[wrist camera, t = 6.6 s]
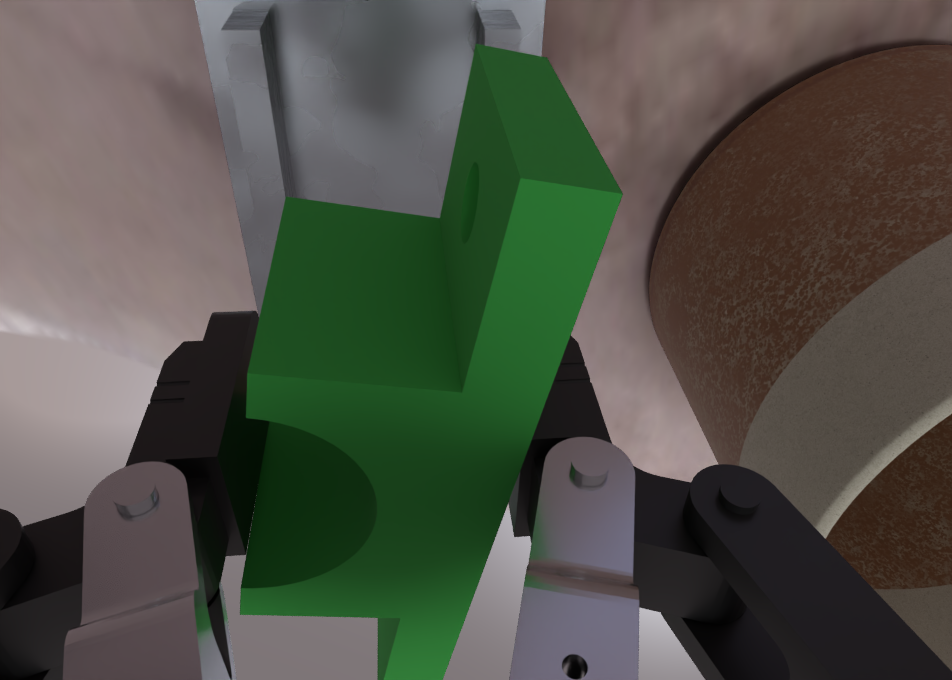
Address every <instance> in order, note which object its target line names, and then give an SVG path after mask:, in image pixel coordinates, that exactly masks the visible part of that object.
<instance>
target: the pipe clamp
mask: <svg viewBox="0 0 952 680" xmlns="http://www.w3.org/2000/svg"><path fill="white" fill-rule="evenodd" d="M622 195H623V193H622V192H621V190H620V188H619V186H618V184H617V183H616V181H615V179H614V177H613V175H612V174H611V172H610V170H609V168H608V166H607V165H606V163H605V161H604V159H603V157H602V156H601V154H600V152H599V150H598V148H597V147H596V145H595V143H594V141H593V139H592V138H591V136H590V134H589V132H588V130H587V129H586V127H585V125H584V123H583V121H582V120H581V118H580V116H579V114H578V113H577V111H576V109H575V107H574V105H573V104H572V102H571V100H570V98H569V96H568V95H567V93H566V91H565V89H564V87H563V86H562V84H561V82H560V80H559V78H558V77H557V75H556V73H555V71H554V69H553V68H552V66H551V64H550V62H549V60H548V59H547V57H541V56H536V55H531V54H526V53H521V52H516V51H511V50H506V49H500V48H495V47H490V46H485V45H480V44H476V45H475V50H474V55H473V60H472V65H471V69H470V74H469V79H468V84H467V89H466V94H465V98H464V103H463V108H462V113H461V118H460V123H459V127H458V132H457V137H456V142H455V147H454V152H453V156H452V161H451V166H450V171H449V176H448V181H447V185H446V190H445V195H444V200H443V205H442V209H441V214H440V218H435V217H428V216H421V215H414V214H407V213H400V212H393V211H386V210H378V209H371V208H364V207H357V206H350V205H343V204H336V203H329V202H322V201H315V200H308V199H300V198H293V197H286V198H285V203H284V207H283V212H282V216H281V221H280V226H279V230H278V235H277V239H276V244H275V249H274V253H273V258H272V262H271V267H270V272H269V276H268V281H267V285H266V290H265V295H264V299H263V304H262V308H261V313H260V317H259V322H258V327H257V331H256V336H255V340H254V345H253V350H252V354H251V359H250V363H249V368H248V373H247V401H246V418H250V419H259V420H266V421H270V422H269V427H268V433H267V438H266V444H265V450H264V455H263V461H262V467H261V472H260V478H259V484H258V490H257V496H256V502H255V507H254V513H253V519H252V525H251V531H250V537H249V543H248V549H247V555H246V561H245V567H244V572H243V578H242V584H241V600H240V615H280V616H326V617H370V618H378V680H443V677H444V674H445V672H446V669H447V666H448V664H449V661H450V658H451V655H452V653H453V650H454V647H455V645H456V642H457V639H458V637H459V634H460V631H461V629H462V626H463V623H464V621H465V618H466V615H467V612H468V610H469V607H470V604H471V601H472V599H473V596H474V594H475V591H476V588H477V586H478V583H479V580H480V578H481V574H482V572H483V569H484V567H485V564H486V561H487V559H488V556H489V553H490V550H491V548H492V545H493V542H494V540H495V537H496V534H497V531H498V529H499V526H500V524H501V521H502V518H503V515H504V513H505V510H506V507H507V505H508V502H509V499H510V497H511V494H512V491H513V489H514V486H515V483H516V481H517V478H518V475H519V472H520V470H521V467H522V464H523V462H524V459H525V456H526V454H527V451H528V448H529V446H530V443H531V440H532V437H533V435H534V432H535V429H536V427H537V424H538V421H539V419H540V416H541V413H542V411H543V408H544V405H545V402H546V400H547V397H548V394H549V392H550V389H551V386H552V384H553V381H554V378H555V376H556V373H557V370H558V367H559V365H560V362H561V359H562V357H563V354H564V351H565V349H566V346H567V343H568V340H569V338H570V335H571V332H572V330H573V327H574V324H575V322H576V319H577V316H578V314H579V311H580V308H581V305H582V303H583V300H584V297H585V295H586V292H587V289H588V287H589V284H590V281H591V279H592V276H593V273H594V270H595V268H596V265H597V262H598V260H599V257H600V254H601V252H602V249H603V246H604V244H605V241H606V238H607V235H608V233H609V230H610V227H611V225H612V222H613V219H614V217H615V214H616V211H617V209H618V206H619V203H620V200H621V198H622Z"/></svg>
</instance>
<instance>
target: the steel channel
mask: <svg viewBox="0 0 952 680" xmlns="http://www.w3.org/2000/svg"><path fill="white" fill-rule="evenodd" d="M194 1H195V5H196V10H197V15H198V20H199V25H200V30H201V35H202V40H203V45H204V50H205V54H206V59H207V64H208V69H209V74H210V79H211V84H212V89H213V94H214V99H215V104H216V108H217V113H218V118H219V123H220V128H221V133H222V138H223V143H224V148H225V153H226V158H227V162H228V167H229V172H230V177H231V182H232V187H233V192H234V197H235V202H236V207H237V212H238V216H239V221H240V226H241V231H242V236H243V241H244V246H245V251H246V256H247V261H248V265H249V270H250V275H251V280H252V285H253V290H254V295H255V300H256V305H257V310H258V315H259V317H260V313H261V308H262V304H263V299H264V295H265V290H266V285H267V281H268V276H269V272H270V267H271V262H272V258H273V253H274V249H275V244H276V239H277V235H278V230H279V226H280V221H281V216H282V212H283V207H284V203H285V198H286V197H293V198H300V199H308V200H315V201H322V202H329V203H336V204H343V205H350V206H357V207H364V208H371V209H378V210H386V211H393V212H400V213H407V214H414V215H421V216H428V217H435V218H440V214H441V209H442V205H443V200H444V195H445V190H446V185H447V181H448V176H449V171H450V166H451V161H452V156H453V152H454V147H455V142H456V137H457V132H458V127H459V123H460V118H461V113H462V108H463V103H464V98H465V94H466V89H467V84H468V79H469V74H470V69H471V65H472V60H473V55H474V50H475V45H476V44H480V45H485V46H490V47H495V48H500V49H506V50H511V51H516V52H521V53H526V54H531V55H536V56H541V54H542V41H543V28H544V14H545V1H546V0H194Z"/></svg>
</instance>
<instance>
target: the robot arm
mask: <svg viewBox="0 0 952 680" xmlns="http://www.w3.org/2000/svg"><path fill="white" fill-rule="evenodd" d="M258 322H259V316H258V313H257V312H256V311H238V312H214V313H212V315H211V317H210V320H209V323H208V326H207V330H206V333H205V336H204V339H203V341H186V342H183V343H182V344H181V345H180V346H179V347H178V348H177V349H176V350H175V351H174V352H173V353H172V354H171V355H170V356H169V357H168V358H167V359H166V360H165V361H164V364H163V367H162V369H161V372H160V375H159V378H158V380H157V386H156V387H155V388H154V391H153V393H152V397H151V399H150V404H148V407H147V410H146V412H145V415H144V418H143V420H142V423H141V426H140V428H139V431H138V434H137V436H136V439H135V442H134V445H133V447H132V450H131V453H130V455H129V458H128V461H127V463H126V466H125V467H124V468H122V469H119V470H117V471H116V472H114V473H112V474H110V475H109V476H107V477H106V478H105V479H104V480H102V481H101V482H100V483H99V484H98V485H97V486H96V487H95V488H94V489H93V491H92V492H91V493H90V495H89V497H88V498H87V501H86V504H85V506H83V507H81V508H79V509H77V510H74V511H71V512H68V513H65V514H62V515H59V516H56V517H52V518H49V519H46V520H42V521H39V522H36V523H33V524H29V525H26V526H23V527H22V525H21V524H20V522H19V520H18V518H17V517H16V516H15V515H14V514H12V513H10V512H8V511H6V510H3V509H0V680H237V679H236V673H235V666H234V659H233V652H232V645H231V639H230V632H229V625H228V618H227V612H226V605H225V598H224V592H223V588H222V584H221V576H222V572H223V567H224V562H225V557H226V556H234V555H246V552H247V546H248V540H249V535H250V529H251V523H252V518H253V512H254V506H255V501H256V495H257V489H258V484H259V478H260V472H261V467H262V461H263V455H264V450H265V444H266V438H267V433H268V427H269V422H270V421H266V420H259V419H250V418H246V401H247V373H248V368H249V363H250V359H251V354H252V350H253V345H254V340H255V336H256V331H257V327H258ZM584 363H585V362H584V359H583V356H582V353H581V350H580V347H579V344H578V342H577V341H576V340H575V339H574V338H573V337H572V336H571V335H570V338H569V340H568V343H567V346H566V349H565V351H564V354H563V357H562V359H561V362H560V365H559V367H558V370H557V373H556V376H555V378H554V381H553V384H552V386H551V389H550V392H549V394H548V397H547V400H546V402H545V405H544V408H543V411H542V413H541V416H540V419H539V421H538V424H537V427H536V429H535V432H534V435H533V437H532V440H531V443H530V446H529V448H528V451H527V454H526V456H525V459H524V462H523V464H522V467H521V470H520V472H519V475H518V478H517V481H516V483H515V486H514V489H513V491H512V494H511V497H510V499H509V508H510V514H511V520H512V525H513V532H514V537H521V536H530V537H531V543H532V545H531V552H530V558H529V564H528V566H527V570H526V576H525V582H524V589H523V595H522V601H521V607H520V614H519V621H518V626H517V633H516V639H515V646H514V652H513V658H512V665H511V671H510V677H509V680H638V656H639V655H638V654H639V652H638V651H639V649H638V648H639V607H641V608H645V609H649V610H653V611H658V612H661V614H662V616H663V617H664V619H665V621H666V622H667V624H668V625H669V626H670V628H671V630H672V631H673V632H674V634H675V635H676V637H677V638H678V640H679V641H680V643H681V644H682V646H683V647H684V649H685V650H686V652H687V653H688V654H689V656H690V657H691V659H692V661H693V662H694V663H695V665H696V666H697V668H698V669H699V671H700V672H701V674H702V675H703V677H704V678H705V679H706V680H952V671H951V670H950V669H949V668H948V667H947V666H946V665H945V664H944V662H943V661H942V660H941V659H940V658H939V657H938V656H937V655H936V654H935V653H934V652H933V651H932V650H931V649H930V648H929V647H928V646H927V645H926V644H925V643H924V642H923V640H922V639H921V638H920V637H919V636H918V635H917V634H916V633H915V632H914V631H913V630H912V629H911V628H910V627H909V626H908V625H907V624H906V623H905V622H904V621H903V620H902V618H901V617H900V616H899V615H898V614H897V613H896V612H895V611H894V610H893V609H892V608H891V607H890V606H889V605H888V604H887V603H886V602H885V601H884V600H883V599H882V597H881V596H880V595H879V594H878V593H877V592H876V591H875V590H874V589H873V588H872V587H871V586H870V585H869V584H868V583H867V582H866V581H865V580H864V579H863V578H862V577H861V575H860V574H859V573H858V572H857V571H856V570H855V569H854V568H853V567H852V566H851V565H850V564H849V563H848V562H847V561H846V560H845V559H844V558H843V557H842V556H841V555H840V553H839V552H838V551H837V550H836V549H835V548H834V547H833V546H832V545H831V544H830V543H829V542H828V541H827V540H826V539H825V538H824V537H823V536H822V535H821V534H820V533H819V531H818V530H817V529H816V528H815V527H814V526H813V525H812V524H811V523H810V522H809V521H808V520H807V519H806V518H805V517H804V516H803V515H802V514H801V513H800V512H799V511H798V509H797V508H796V507H795V506H794V505H793V504H792V503H791V502H790V501H789V500H788V499H787V498H786V497H785V496H784V495H783V494H782V493H781V492H780V491H779V490H778V489H777V487H776V486H775V485H773V484H772V483H771V482H770V481H769V480H768V479H766V478H765V477H764V476H762V475H760V474H758V473H757V472H755V471H752V470H750V469H748V468H744V467H741V466H736V465H729V464H720V465H713V466H709V467H707V468H705V469H703V470H701V471H700V472H698V473H697V474H696V476H695V477H694V478H693V480H692V482H691V483H690V482H685V481H680V480H675V479H670V478H665V477H660V476H656V475H653V474H650V473H647V472H644V471H642V470H640V469H638V468H636V467H634V466H633V464H632V463H631V461H630V459H629V458H628V457H627V455H626V454H625V453H624V452H623V451H622V450H621V449H619V448H618V447H616V446H615V445H613V444H612V442H611V440H610V437H609V434H608V431H607V428H606V425H605V422H604V419H603V416H602V413H601V410H600V407H599V404H598V401H597V398H596V395H595V392H594V389H593V386H592V383H590V377H589V374H588V371H587V368H586V366H585V364H584Z"/></svg>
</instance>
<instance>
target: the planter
mask: <svg viewBox="0 0 952 680" xmlns="http://www.w3.org/2000/svg"><path fill="white" fill-rule="evenodd" d="M649 302H650V311H651V316H652V321H653V325H654V328H655V331H656V334H657V336H658V339H659V341H660V343H661V345H662V347H663V349H664V352H665V354H666V356H667V358H668V360H669V362H670V364H671V366H672V368H673V370H674V372H675V374H676V376H677V379H678V381H679V383H680V385H681V387H682V389H683V391H684V393H685V395H686V397H687V399H688V401H689V403H690V406H691V408H692V410H693V412H694V414H695V416H696V418H697V420H698V422H699V424H700V426H701V428H702V430H703V433H704V435H705V437H706V439H707V441H708V443H709V445H710V447H711V449H712V451H713V453H714V455H715V457H716V460H717V462H718V464H719V465H720V464H729V465H736V466H741V467H744V468H748V469H750V470H752V471H755V472H757V473H758V474H760V475H762V476H764V477H765V478H766V479H768V480H769V481H770V482H771V483H772V484H773V485H775V486H776V487H777V489H778V490H779V491H780V492H781V493H782V494H783V495H784V496H785V497H786V498H787V499H788V500H789V501H790V502H791V503H792V504H793V505H794V506H795V507H796V508H797V509H798V511H799V512H800V513H801V514H802V515H803V516H804V517H805V518H806V519H807V520H808V521H809V522H810V523H811V524H812V525H813V526H814V527H815V528H816V529H817V530H818V531H819V533H820V534H821V535H822V536H823V537H824V538H825V539H826V540H827V541H828V542H829V543H830V544H831V545H832V546H833V547H834V548H835V549H836V550H837V551H838V552H839V553H840V555H841V556H842V557H843V558H844V559H845V560H846V561H847V562H848V563H849V564H850V565H851V566H852V567H853V568H854V569H855V570H856V571H857V572H858V573H859V574H860V575H861V577H862V578H863V579H864V580H865V581H866V582H867V583H868V584H869V585H870V586H871V587H872V588H873V589H874V590H875V591H876V592H877V593H878V594H879V595H880V596H881V597H882V599H883V600H884V601H885V602H886V603H887V604H888V605H889V606H890V607H891V608H892V609H893V610H894V611H895V612H896V613H897V614H898V615H899V616H900V617H901V618H902V620H903V621H904V622H905V623H906V624H907V625H908V626H909V627H910V628H911V629H912V630H913V631H914V632H915V633H916V634H917V635H918V636H919V637H920V638H921V639H922V640H923V642H924V643H925V644H926V645H927V646H928V647H929V648H930V649H931V650H932V651H933V652H934V653H935V654H936V655H937V656H938V657H939V658H940V659H941V660H942V661H943V662H944V664H945V665H946V666H947V667H948V668H949V669H950V670H951V671H952V45H917V46H907V47H900V48H894V49H889V50H884V51H879V52H876V53H872V54H868V55H865V56H861V57H858V58H855V59H852V60H849V61H846V62H844V63H841V64H839V65H836V66H834V67H831V68H829V69H827V70H824V71H822V72H820V73H818V74H816V75H814V76H812V77H810V78H808V79H806V80H804V81H802V82H800V83H798V84H797V85H795V86H793V87H792V88H790V89H788V90H786V91H785V92H783V93H782V94H780V95H779V96H777V97H776V98H774V99H772V100H771V101H769V102H768V103H767V104H765V105H764V106H763V107H761V108H760V109H758V110H757V111H756V112H754V113H753V114H752V115H751V116H750V117H748V118H747V119H746V120H745V121H743V122H742V123H741V124H740V125H739V126H738V127H737V128H735V129H734V130H733V131H732V132H731V133H730V134H729V135H728V136H727V137H726V138H725V139H724V140H723V141H722V142H721V143H720V144H719V145H718V146H717V147H716V148H715V149H714V150H713V151H712V152H711V153H710V155H709V156H708V157H707V158H706V159H705V160H704V162H703V163H702V164H701V165H700V166H699V168H698V169H697V170H696V172H695V173H694V174H693V176H692V177H691V179H690V180H689V181H688V183H687V184H686V186H685V187H684V189H683V190H682V192H681V194H680V195H679V197H678V199H677V200H676V202H675V204H674V206H673V208H672V210H671V212H670V214H669V216H668V218H667V220H666V222H665V225H664V227H663V229H662V232H661V235H660V237H659V240H658V243H657V246H656V250H655V254H654V257H653V262H652V267H651V274H650V285H649Z"/></svg>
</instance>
